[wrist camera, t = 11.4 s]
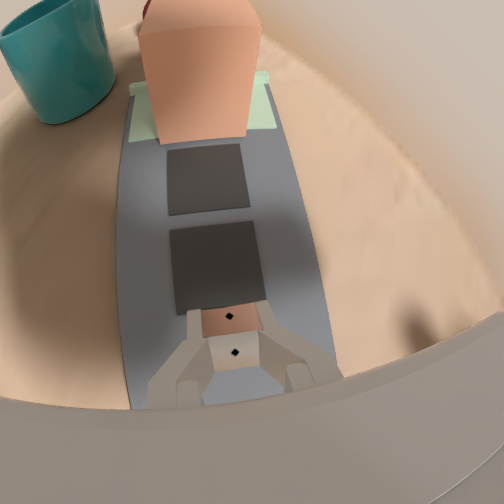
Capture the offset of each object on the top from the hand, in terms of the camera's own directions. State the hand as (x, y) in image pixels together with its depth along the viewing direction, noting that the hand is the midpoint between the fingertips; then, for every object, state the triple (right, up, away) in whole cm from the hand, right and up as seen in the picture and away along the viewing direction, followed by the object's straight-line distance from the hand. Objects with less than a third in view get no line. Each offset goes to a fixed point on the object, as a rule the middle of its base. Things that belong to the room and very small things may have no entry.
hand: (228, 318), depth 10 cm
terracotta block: (-3, +13, +10) cm, 16 cm away
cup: (-17, +19, +10) cm, 28 cm away
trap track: (-2, +5, +7) cm, 9 cm away
